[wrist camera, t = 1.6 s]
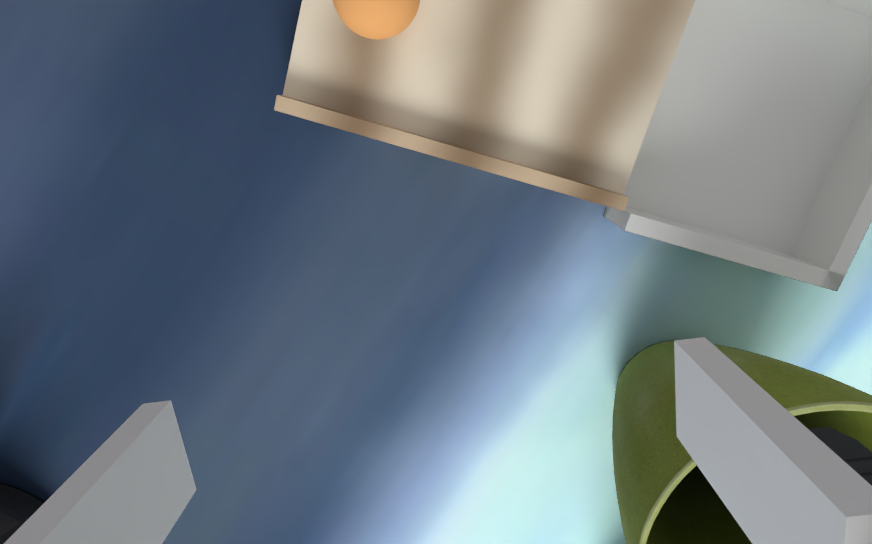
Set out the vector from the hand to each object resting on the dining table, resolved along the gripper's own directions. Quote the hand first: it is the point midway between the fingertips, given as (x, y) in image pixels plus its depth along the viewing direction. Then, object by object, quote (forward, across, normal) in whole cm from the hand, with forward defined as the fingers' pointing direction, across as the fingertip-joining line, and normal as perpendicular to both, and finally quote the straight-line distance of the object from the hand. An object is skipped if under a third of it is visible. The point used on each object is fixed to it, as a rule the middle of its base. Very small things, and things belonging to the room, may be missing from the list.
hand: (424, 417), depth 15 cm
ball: (+18, -1, +13) cm, 23 cm away
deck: (+23, +4, +11) cm, 26 cm away
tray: (+23, +20, +4) cm, 31 cm away
